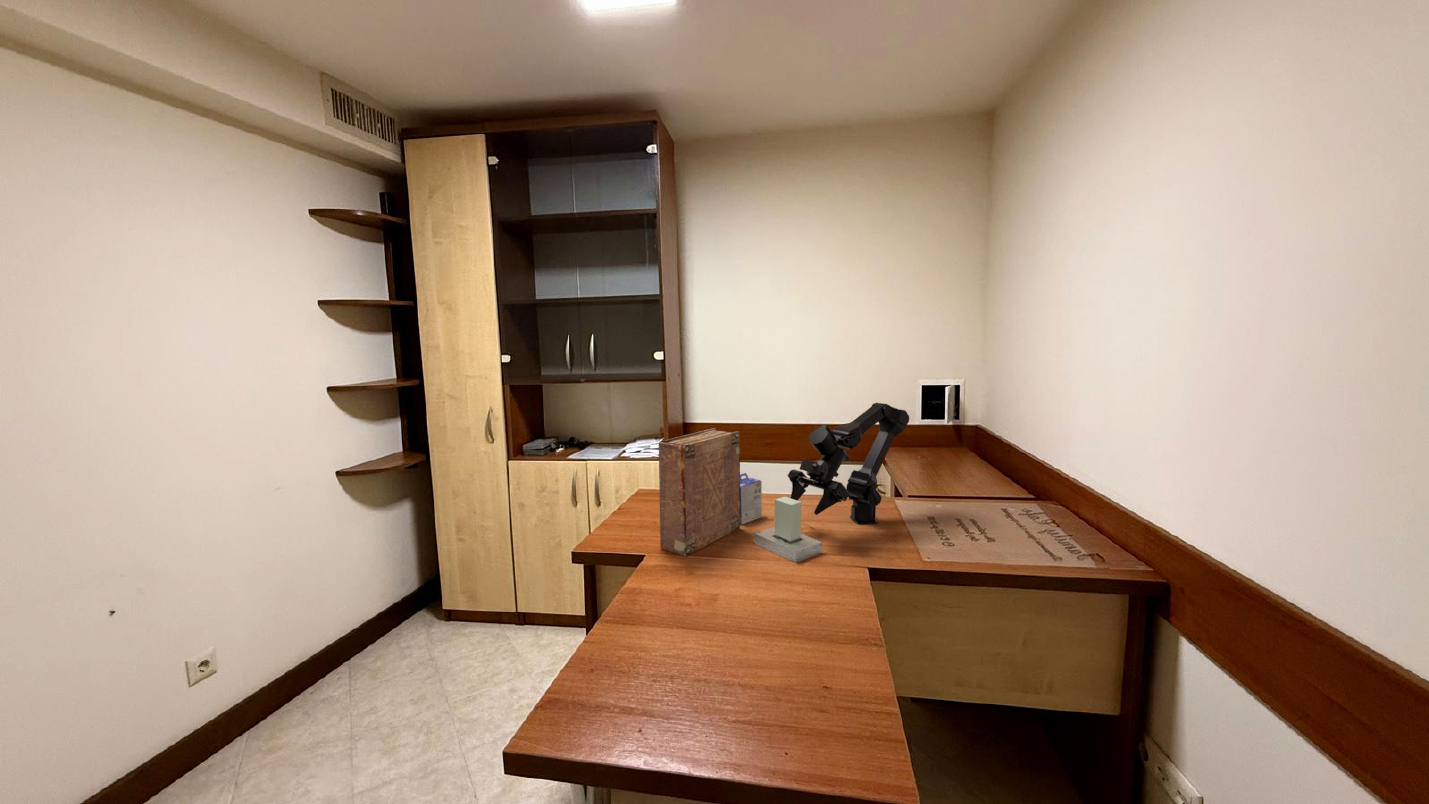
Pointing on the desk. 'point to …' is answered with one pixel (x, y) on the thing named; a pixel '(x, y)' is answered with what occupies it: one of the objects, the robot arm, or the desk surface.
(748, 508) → the ink cartridge box
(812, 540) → the grey slotted base
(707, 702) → the desk surface
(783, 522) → the clip
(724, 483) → the book
